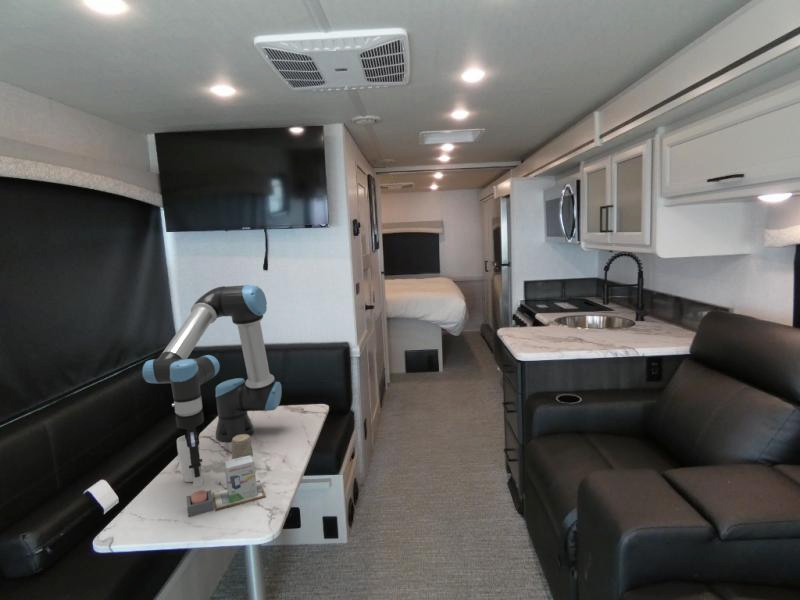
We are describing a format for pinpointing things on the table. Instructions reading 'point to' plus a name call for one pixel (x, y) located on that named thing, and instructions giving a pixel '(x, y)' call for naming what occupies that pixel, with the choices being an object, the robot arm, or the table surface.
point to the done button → (198, 496)
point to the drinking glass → (184, 458)
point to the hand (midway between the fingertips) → (198, 484)
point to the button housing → (199, 505)
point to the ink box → (240, 478)
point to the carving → (241, 446)
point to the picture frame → (223, 501)
